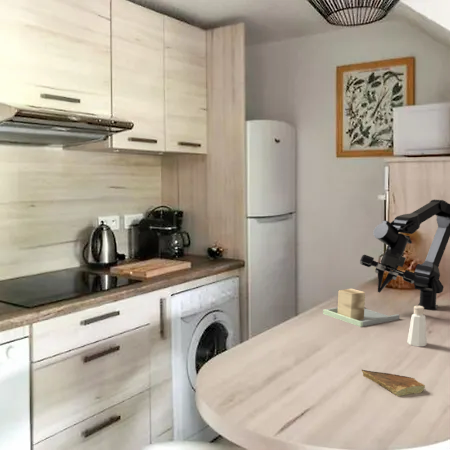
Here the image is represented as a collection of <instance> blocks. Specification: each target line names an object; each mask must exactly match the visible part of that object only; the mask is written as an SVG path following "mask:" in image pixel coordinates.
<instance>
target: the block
mask: <svg viewBox="0 0 450 450" xmlns="http://www.w3.org/2000/svg"><path fill="white" fill-rule="evenodd" d="M337 296H338V297H337V307H338V314H341V315H344V316H347V317H350V318H353V319H356V320H363V319H364V308H365V306H366V302H365V301H366V300H365V298H366V292H365V291H362V290H357V289H354V288H346V289H339V290H338V294H337ZM363 321H364V320H363Z"/></svg>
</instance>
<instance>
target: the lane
mask: <svg viewBox="0 0 450 450" xmlns="http://www.w3.org/2000/svg"><path fill="white" fill-rule="evenodd" d="M322 314H323V315H325V316H328V317H330V318H334V319H336V320H340V321H343V322H345V323H347V324H351V325H354V326H356V327H360V328H362V327H368V326H373V325H377V324H381V323H389V322H391V321H398V320H400V318H401V317H400V314H398V313H397V314H392V315H387V314H385V313H381V312H378V311H375V310H371V309H368V308H365V307H364V319H363V320H356V319H353V318H350V317H347V316H344V315H341V314H338V306H337V307H331V308H326V309H325V308H324V309H322Z"/></svg>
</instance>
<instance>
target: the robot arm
mask: <svg viewBox="0 0 450 450" xmlns="http://www.w3.org/2000/svg"><path fill="white" fill-rule="evenodd" d="M434 216H436V224H437V229H436V231H435V234H434V236H433V239H432V242H431V243H430V247H429V249H428V252H427V255H426V258H425V260H424V261H423V262H422V263H421V264H420V263H417V265H416V267H415V270H414V272H413V271H410V270H407V269H405V270H404V271H402V270H400V269H398V268H399V267H401V268H403V266H404V264H405V261H406V259H407V258H406V257H405V256H403V255H404V252H405V249H406V247H407V244H410V245H412V243H413V242H412V240H411V237H410V235H412V234H414V233H415V232H416V231H418V230H419V229H420V227H421V224H422V223H424V222H425V221H427V220H429V219H430V218H432V217H434ZM372 234H373V237H374V238H375V239H377V240H379V241H380V242H381V243H383V244H385V245H386V249H385V251H384V254H383V255H382V258H381V260H380V262H379V261H377V260H375V258H374V257H372V256H371V255H370V256H369V255H367V254H362V255H361V257H360V260H359V264H360V265H362V266H365V267H367V268H371V267H375V271H374V272H375V273H376V274H377V280H378V281H377V293H381V292H382V291H383V290H384V288H385V287H386V286H387V285H388V284H389V283H390V282H391V281H393V280H395V281H396V280H397V277H398V276H399V277H402V280H403V281H405V282H407V283H409V284H413V285H414V289H415V290H419V303H418V304H417V306H423V307H424V310H425V309H426V310H434V311H436V310H437V309H438V307H439V305H438V304H437V294H441V293H443V292H444V287H445V286H444V285H443V283H442V282H441V281H440V277H441V272H440V268H439V266H440V264H441V260H442V259H443V256H444V252H445V250H446V248H447V245H448V242H449V240H450V203H449V202H447V201H445V200H443V199H431V200H430V201H429V202H428V203H426V204H425V205H423V206H421V207H419V208H418V209H416V210H414V211H413V212H410V213H405V214H400V215H398V216H396V217H395V218H394V219H393V220H392V221H391V222H390V221H388V220H382V221H381V223H380V224H379V223H378V225H376V226H375V228H374V229H373V231H372ZM405 234H409V235H405ZM385 272H387V275H386V277H385V278H384V275H385ZM383 279H384V281H383ZM382 282H383V283H382Z"/></svg>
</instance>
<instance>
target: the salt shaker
mask: <svg viewBox="0 0 450 450" xmlns="http://www.w3.org/2000/svg"><path fill="white" fill-rule="evenodd" d="M424 310H425V308H424V307H423V306H418V305H414V306H413V314H411V318H410V322H409V330H408V334H407V340H406V341H407V342H406V343H407V344H408V345H410V346H413V347H426V346H427V344H428V341H427V340H428V339H427V323H426V322H427V321H426V319H427V318H426V315H425V314H424V312H425V311H424Z"/></svg>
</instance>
